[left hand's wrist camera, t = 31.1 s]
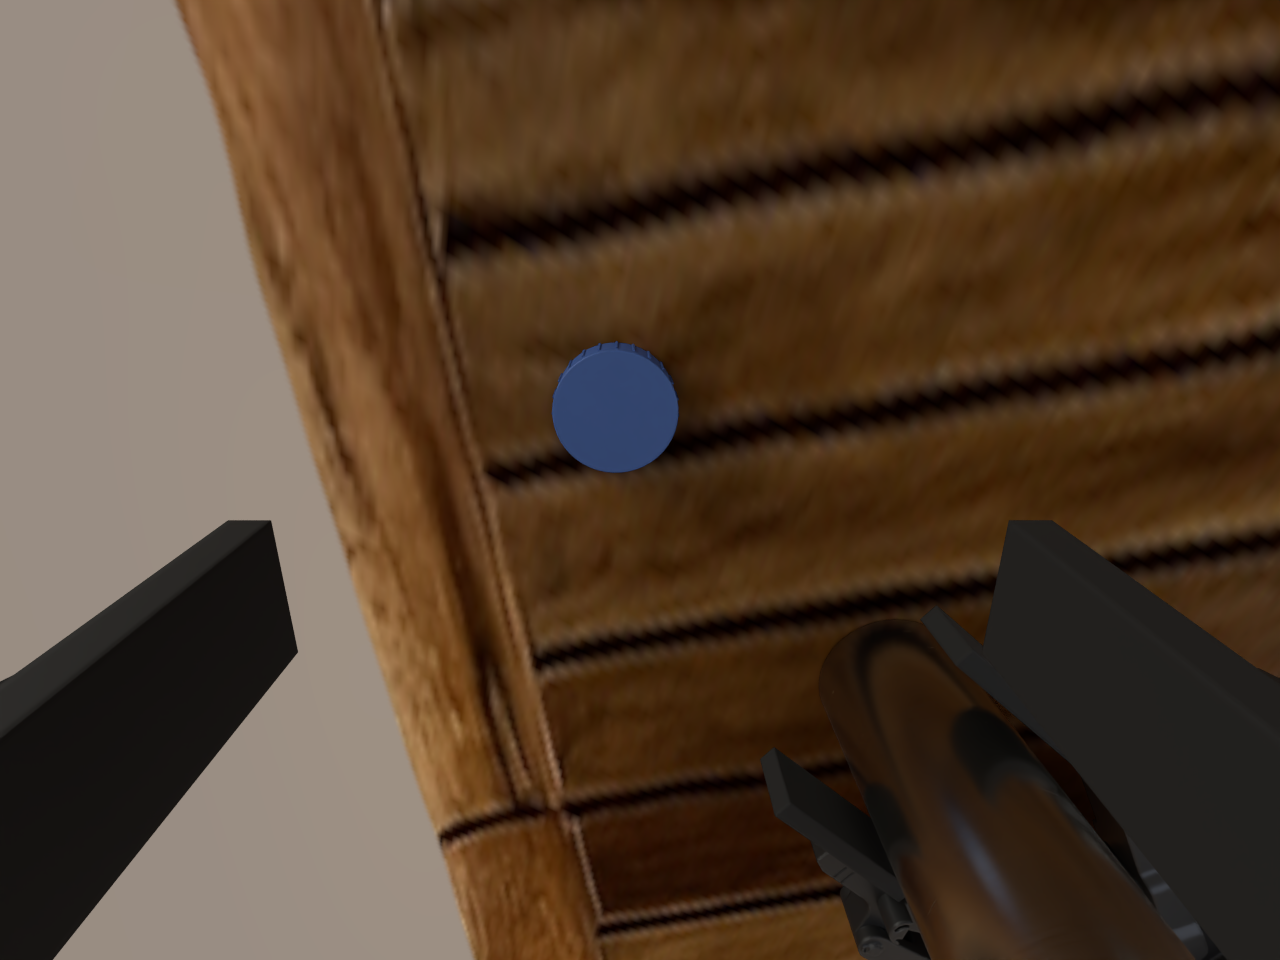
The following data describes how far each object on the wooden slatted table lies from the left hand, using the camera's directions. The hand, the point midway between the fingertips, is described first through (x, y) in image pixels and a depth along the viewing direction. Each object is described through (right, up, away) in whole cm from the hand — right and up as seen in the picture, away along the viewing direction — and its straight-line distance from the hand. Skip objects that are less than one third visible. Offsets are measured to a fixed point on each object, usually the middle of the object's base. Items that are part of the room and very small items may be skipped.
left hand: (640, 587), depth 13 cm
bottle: (+11, -7, +18) cm, 23 cm away
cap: (-1, +4, +12) cm, 13 cm away
